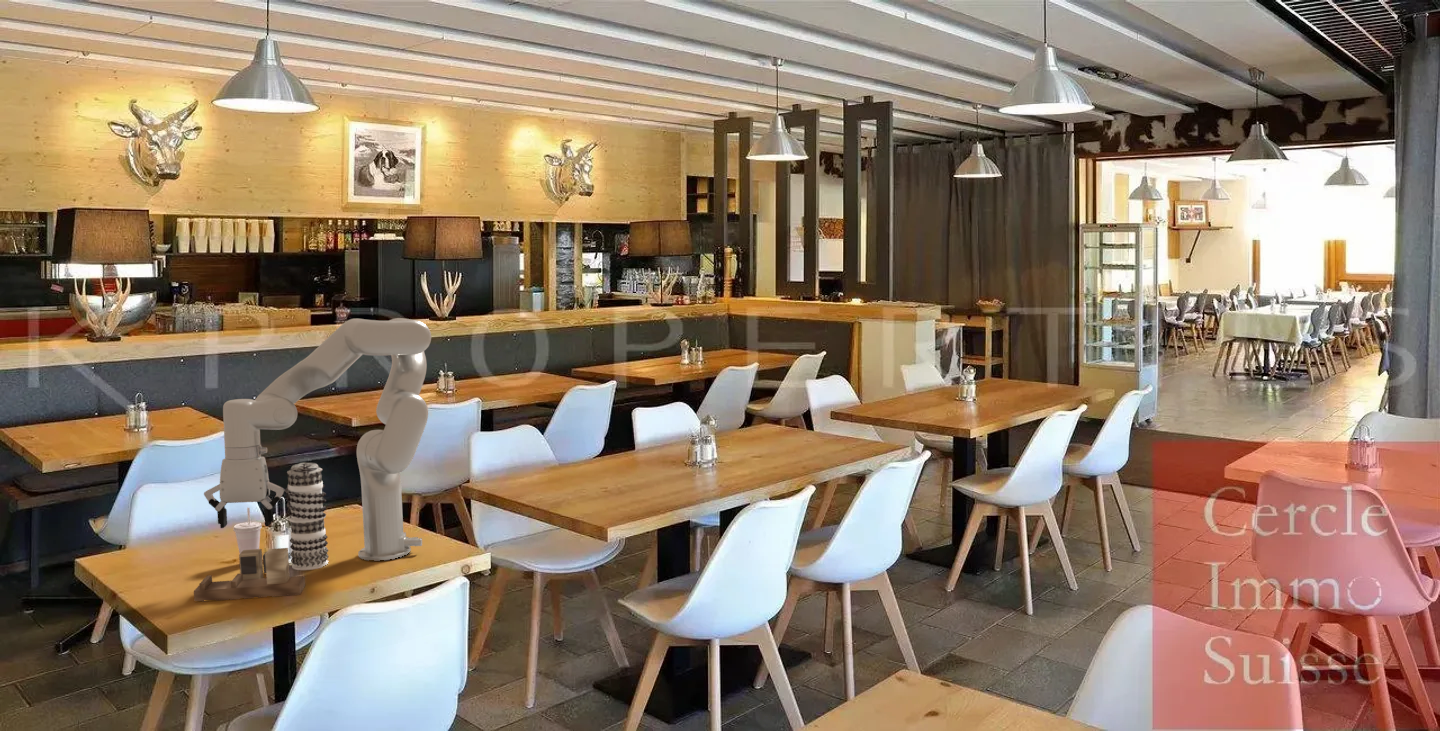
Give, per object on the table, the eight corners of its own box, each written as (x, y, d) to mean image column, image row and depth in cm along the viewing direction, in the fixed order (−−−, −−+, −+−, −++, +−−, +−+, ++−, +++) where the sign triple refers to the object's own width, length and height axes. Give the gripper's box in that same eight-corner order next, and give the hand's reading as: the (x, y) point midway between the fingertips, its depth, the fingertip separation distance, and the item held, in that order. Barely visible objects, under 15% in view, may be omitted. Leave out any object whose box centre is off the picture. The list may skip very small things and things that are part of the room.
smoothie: (253, 567, 258) (249, 511, 256) (230, 566, 259) (226, 510, 258) (269, 560, 264) (266, 505, 263) (246, 558, 266) (242, 504, 264)
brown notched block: (305, 586, 243) (302, 545, 242) (299, 594, 238) (297, 553, 236) (202, 593, 239) (199, 552, 238) (194, 602, 233) (191, 560, 232)
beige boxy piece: (245, 579, 249) (243, 550, 249) (263, 577, 250) (261, 548, 249) (240, 585, 245) (238, 555, 244) (258, 583, 246) (256, 554, 245)
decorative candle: (288, 562, 262) (282, 463, 259) (328, 557, 266) (323, 459, 263) (290, 572, 254) (284, 470, 251) (331, 567, 257) (325, 466, 254)
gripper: (286, 449, 250) (288, 520, 251) (207, 451, 246) (210, 523, 248) (279, 454, 242) (282, 528, 244) (197, 457, 239) (201, 531, 241)
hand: (246, 525), depth 246 cm, fingers open, 9 cm apart
